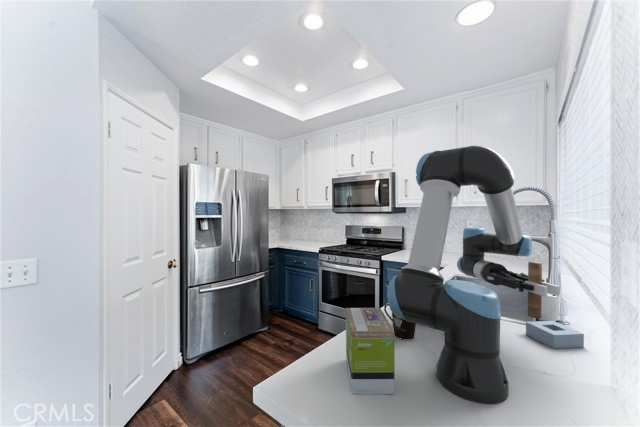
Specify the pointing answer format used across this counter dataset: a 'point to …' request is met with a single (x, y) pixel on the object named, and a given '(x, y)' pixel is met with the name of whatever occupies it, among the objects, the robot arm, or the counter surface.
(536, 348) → the counter surface
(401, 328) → the coffee mug
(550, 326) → the socket block
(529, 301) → the dowel
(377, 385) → the tea box
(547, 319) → the white cup
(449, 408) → the counter surface
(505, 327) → the counter surface
